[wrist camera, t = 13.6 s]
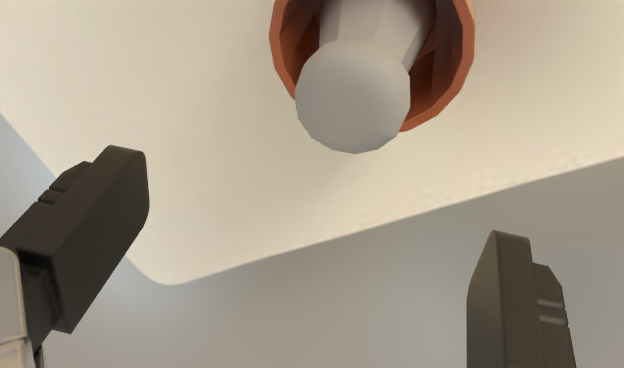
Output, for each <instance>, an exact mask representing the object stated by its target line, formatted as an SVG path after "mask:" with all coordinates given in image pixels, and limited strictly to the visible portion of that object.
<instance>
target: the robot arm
mask: <svg viewBox="0 0 624 368" xmlns="http://www.w3.org/2000/svg"><path fill="white" fill-rule="evenodd" d="M148 212H149V190H148V179H147V167H146V158H145V155H144V153H143V152H141V151H137V150H133V149H128V148H124V147H119V146H114V145H109V146H107V147H106V148H105V149H104V150H103V151H102V153H101V154H100V155H99V156H98V157H97V158H96V159H95V160H94V161H93V163H90V162H86V161H83V162H81V163H79V164H77V165H76V166H74V167H72V168H70V169H68V170H66V171H64V172H63V173H62V174H61V175H60V176H59V177H58V178H57V179H56V180H55V181H54V182H53V183H52V184H51V186H50V187H49V190H46V191H45V192H44V193H43V194H42V195H41V196H40V197H39V198H38V201H37V202H34V203H33V204H32V205H31V206H30V208H29V209H28V210H27V211H26V212H25V213H24V214H23V215H22V216H21V217H20V218H19V219H18V220H17V221H16V222H15V223H14V224H13V225H12V226H11V227H10V229H9V230H8V231H7V232H6V233H5V234H4V235H3V236H2V237H1V238H0V368H47V364H46V356H45V348H44V345H43V341H44V340H45V338H46V337H47V335H48V334H49V333H50V331H51V330H56V331H60V332H64V333H68V334H71V333H72V332H73V330H74V329H75V327H76V326H77V324H78V323H79V321H80V320H81V318H82V317H83V315H84V314H85V312H86V311H87V310H88V308H89V307H90V305H91V304H92V302H93V301H94V299H95V298H96V296H97V294H98V293H99V292H100V290H101V289H102V287H103V286H104V284H105V283H106V281H107V280H108V278H109V277H110V275H111V274H112V273H113V271H114V270H115V268H116V267H117V265H118V264H119V262H120V261H121V259H122V258H123V256H124V255H125V253H126V252H127V250H128V249H129V247H130V246H131V244H132V243H133V241H134V240H135V238H136V237H137V235H138V234H139V232H140V231H141V230H142V228H143V226H144V224H145V222H146V219H147V216H148ZM467 368H576V363H575V357H574V352H573V346H572V341H571V336H570V330H569V328H568V319H567V313H566V311H565V303H564V297H563V292H562V286H561V285H560V283H559V282H558V281H557V279H556V277H555V276H554V274H553V273H552V271H551V270H550V268H549V267H548V266H544V265H540V264H536V263H533V262H532V255H531V247H530V241H529V239H528V238H527V237H523V236H519V235H514V234H510V233H505V232H501V231H496V230H493V231H492V232H491V233H490V235H489V237H488V239H487V242H486V244H485V246H484V249H483V251H482V254H481V256H480V259H479V261H478V263H477V266H476V268H475V271H474V273H473V276H472V278H471V281H470V285H469V289H468V295H467Z"/></svg>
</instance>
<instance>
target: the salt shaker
mask: <svg viewBox="0 0 624 368" xmlns="http://www.w3.org/2000/svg"><path fill="white" fill-rule="evenodd" d="M435 22H436V0H321V3H320V39H319V50H317V51H316V52H315V53H314V54H313V55H312V56H311V57H310V58H309V59H308V60H307V62H306V63H305V64H304V66H303V68H302V71H301V74H300V77H299V80H298V82H297V85H296V88H295V96H294V98H295V103H296V108H297V113H298V119H299V120H300V122H301V123H302V125H303V126H304V127H305V129H306V130H307V132H308V133H309V135H310V136H311V137H312V138H313V139H315V140H316V141H318V142H320V143H321V144H323V145H325V146H326V147H328V148H330V149H331V150H336V151H341V152H346V153H351V154H358V153H363V152H367V151H372V150H376V149H379V148H380V147H382V146H383V145H384V144H386V143H387V142H389V141H390V140H391V139H393V138H394V137H396V136H397V134H398V132H399V130H400V128H401V126H402V124H403V122H404V119H405V117H406V115H407V113H408V111H409V109H410V76H409V75H408V72H409V71H410V69H411V67H412V66H413V64H414V62H415V61H416V59H417V57H418V56H419V54H420V52H421V50H422V49H423V47H424V45H425V44H426V41H427V39H428V37H429V35H430V33H431V31H432V29H433V26H434V24H435Z"/></svg>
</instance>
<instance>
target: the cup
mask: <svg viewBox="0 0 624 368" xmlns="http://www.w3.org/2000/svg"><path fill="white" fill-rule="evenodd" d="M320 3H321V0H275V3H274V7H273V13H272V19H271V25H270V31H269V40H270V46H271V51H272V56H273V62H274V67H275V70H276V71H277V73H278V75H279V77H280V78H281V80H282V82H283V84H284V85H285V87H286V89H287V91H288V92H289V94H290V96H291V97H292V98H293V99H294V100H295V98H294V96H295V88H296V85H297V82H298V80H299V77H300V74H301V71H302V68H303V66H304V64H305V63H306V62H307V60H308V59H309V58H310V57H311V56H312V55H313V54H314V53H315V52H316V51H317V50H319V39H320ZM474 37H475V20H474V6H473V0H436V22H435V24H434V26H433V29H432V31H431V33H430V35H429V37H428V39H427V41H426V44H425V45H424V47H423V49H422V50H421V52H420V54H419V56H418V57H417V59H416V61H415V62H414V64H413V66H412V67H411V69H410V71H409V72H408V75H409V76H410V109H409V111H408V113H407V115H406V117H405V119H404V122H403V124H402V126H401V128H400V130H399V132H404V131H408V130H410V129H412V128H414V127H416V126H418V125H420V124H422V123H424V122H426V121H428V120H430V119H431V118H433V117H435V116H437V115H438V114H439V113H440V112H441V111H442V110H443V109H444V108H445V107H446V106H447V105H448V104H449V103H450V102H451V100H452V99H453V98H454V97H455V96H456V95H457V94H458V93H459V92H460V90H461V89H462V86H463V84H464V82H465V79H466V77H467V74H468V72H469V70H470V67H471V65H472V63H473V59H474Z"/></svg>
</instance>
